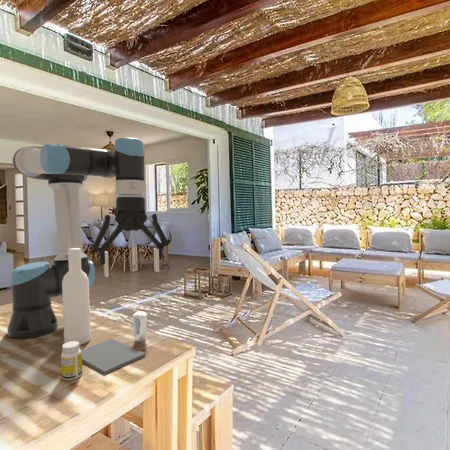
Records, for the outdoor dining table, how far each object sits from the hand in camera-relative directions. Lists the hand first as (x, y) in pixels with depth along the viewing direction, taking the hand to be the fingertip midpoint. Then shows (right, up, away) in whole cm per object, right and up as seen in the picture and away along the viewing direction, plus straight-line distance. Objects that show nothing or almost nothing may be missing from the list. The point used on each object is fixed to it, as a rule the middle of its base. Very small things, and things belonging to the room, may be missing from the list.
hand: (132, 273), depth 91 cm
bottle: (-22, -24, +15) cm, 36 cm away
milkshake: (-1, -24, +16) cm, 29 cm away
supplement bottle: (-14, -26, -6) cm, 30 cm away
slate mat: (-8, -25, +4) cm, 26 cm away
